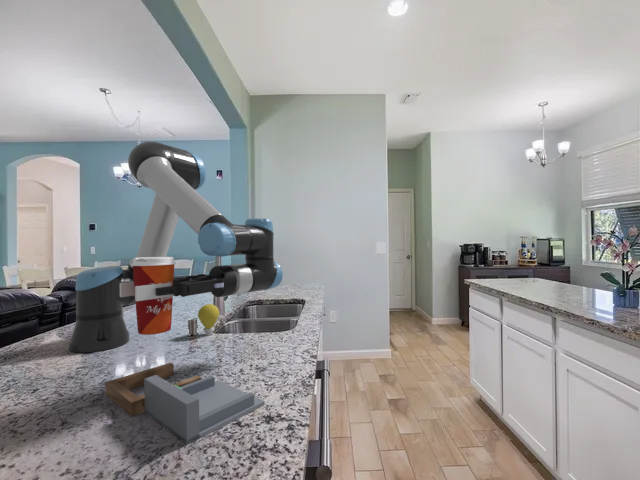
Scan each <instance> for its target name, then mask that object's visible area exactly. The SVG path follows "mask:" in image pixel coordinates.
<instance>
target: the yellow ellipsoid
mask: <svg viewBox="0 0 640 480" xmlns="http://www.w3.org/2000/svg"><path fill="white" fill-rule="evenodd" d="M219 316H220V309H219V308H218V306H216V305H215V304H212V303H211V304H210V303H208V304H205V305H202V306H201V307H200V308H199V310H198V313H197V318H198V319H199V321H200V323H201V325H202V326H203V327H204V328H203V332H204V334H205V336H212V335H213V334H214V331H215V327H214V326H215V324H216V322H217V321H218V319H219ZM211 334H212V335H211Z"/></svg>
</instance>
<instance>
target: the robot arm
mask: <svg viewBox="0 0 640 480" xmlns="http://www.w3.org/2000/svg"><path fill="white" fill-rule="evenodd" d="M127 164H128V169H129V172H130V173H131V174H132V177H134V179H135V180H136V181H137V182H138V183H139V184H140V185H141V186H142V187H145V188H146V189H147V188H148V189H151V190H152V191H153V192H154V193H155V196H154V198H153V201H152V204H151V205H152V206H151V209H150V211H149V215H148V218H147V222H146V223H145V228H144V231H143V235H142V237H141V240H140V244H139V248H138V251H137V255H136V257H135V258H141V257H167V255H168V252H169V249H170V246H171V243H172V239H173V237H174V233H175V231H176V228H177V224H178V222H179V218H180V219H182V220H183V222H185V223H186V225H188V226H189V227H190V229H192V230H193V231H194V232H195V234H197V243H198V245H199V249H200V251H201V252H202V253H203V254H205V255H207V256H209V257H220V258H221V257H230V256H243V255H244V256H245V258H244V260H245V263H237V264H236V263H234V264H233V263H232V264H227V265H226V264H225V265H223V264H222V265H215V266H212V268H211V269H210V270H209V273H208V274H206V273H199V274H196V275H187V276H179V277H174V280H173V286H172V283H163V284H153V285H143V286H135V290H134V276H133V266H131V264H133V259H134V258H132V259H130V260H129V263H128V266H127V269H123V268H122V266H121V265H109V266H102V267H95V268H91V269H87V270H83V271H81V272H79V273H78V274H77V276H76V278H75V287H74V289H75V316H76V317H75V318H76V319H75V326H74V329H73V331H72V335H71V338H70V339H69V341H68V350H69V352H73V353H93V352H100V351H106V350H110V349H115V348H118V347H120V346H123V345H125V344H127V343H129V342H130V332H129V330H128V329H127V325H126V322H125V320H124V317H123V307H125V306H129V305H136V303H135V301H143V300H150V299H157V298H164V297H171V296H172V294H173V297H179V296H180V297H182V298H186V297H190V296H194V295H201V294H206V293H211V294H212V295H213V296H214V297H215V298H223V297H227V296H232V295H237V297H241V296H242V294H246V293H253V292H260V291H261V292H262V291H267V290H270V289H274V288H278V287H279V286H280V285H281V284H282V281H283V277H284V274H283V273H284V272H283V270H282V267H281V265H280V264H279V263H278V262H275V259H274V235H275V234H274V225H273V221H272V220H271V219H269V218H248V219H246V220H245V222H244V224H235V223H232V222H231V221H230V220H229V219H228V218H226V217H225V216H224V215H223V214H222V213H220V211H219V210H218V209H216V208H215V207H214V206H213V205H212V204H211V203H210V202H208V200H207V199H205V198H204V197H203V196H202V195H201V194H200V193H199V192H198V191H196V190H198V189H200V188H202V186H203V185H204V183H205V181H206V178H207V173H206V172H207V170H206V166H205V163H204V161H203V160H202V158H201V157H200V156H199V155H197V154H195V153H194V152H191V151H188V150H185V149H182V148H178V147H175V146H171V145H167V144H163V143H161V142H157V141H145V142H141V143H139V144H138V145H136V146H135V147H133V149H132V150H131V151H130V153H129V155H128V162H127Z"/></svg>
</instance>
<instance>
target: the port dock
mask: <svg viewBox="0 0 640 480" xmlns="http://www.w3.org/2000/svg"><path fill="white" fill-rule="evenodd" d="M215 380H216V377H215V376H213V375H209V376H206V377H202V378H201V380H198V381H195V382H192V383H190V384H187V385H184V386H182V387H178V386H176V385H173V384H174V383H171V382H169V381H167V380H165V379H164V378H160V377H158V376H157V375H154V376H151V377H148V378H145V379H144V385H143V388H144V394H143V395H145V412H144V414H146V415H147V416H149V417H150V418H151V419H153V420H154V421H155V422H156V423H158V424H159V425H160V426H162V427H163V428H164V427H165V430H167V429H168V430H169V431H168V430H167V431H168V432H169V433H171V434H172V433H173V435H174V436H175V437H176V438H177V437H178V439H179V440H180V441H181V440H182V441H181V442H183V443H184V444H185V445H188V446H189V444H192V443H194V442H195V441H198V440H199V439H202V438H204V437H205V436H207V435H209V434H211V433H213V432H214V431H216V430H218V429H221V428H222V427H224V426H226V425H228V424H230V423H232V422H234V421H236V420H237V419H239V418H241V417H243V416H245V415H248V414H249V413H252V412H253V411H255V410H257V409H259V408H260V407H263V406H264V405H266V404H265V403H266V402H265V400H263V399H261V398H258V397H256V396H255V394H253V393H251V392H249V393H248V392H245V391H243V390H241V389H239V388H236V387H234V386H232V385H230V384H228V383H226V382H224V381H221V380H219V379H218V380H216V381H215Z"/></svg>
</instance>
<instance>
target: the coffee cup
mask: <svg viewBox="0 0 640 480" xmlns="http://www.w3.org/2000/svg"><path fill="white" fill-rule="evenodd" d="M132 259H133V264H131V266H133V276H134V290H135V286H143V285H153V284H163V283H172V286H173V280H174V278H175V265H176V264H177V263H176V261H175V259H174V257H173V256H166V257H141V258H136V257H135V258H134V257H133V258H132ZM173 299H174V296H173V294H172V296H171V297H164V298H157V299H150V300H143V301H135V303H136V304H135V312H136V325H137V333H138V334H139V335H142V336H143V335H144V336H145V335H146V336H149V335H159V334H162V333H163V334H164V333H167V332H169V331H170V330H171V328H172V317H173V316H172V314H173V301H174V300H173Z"/></svg>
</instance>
